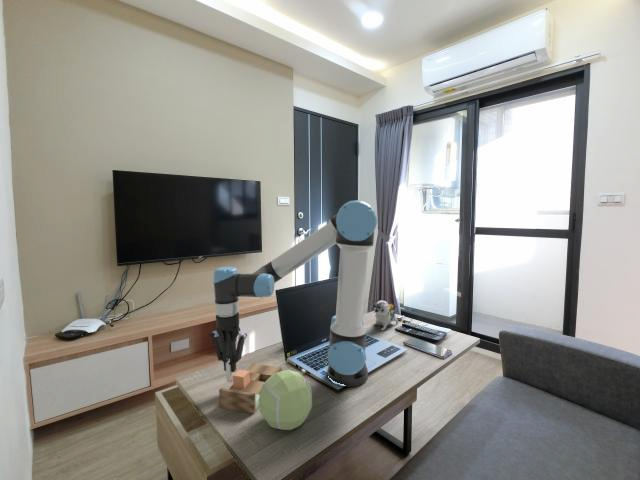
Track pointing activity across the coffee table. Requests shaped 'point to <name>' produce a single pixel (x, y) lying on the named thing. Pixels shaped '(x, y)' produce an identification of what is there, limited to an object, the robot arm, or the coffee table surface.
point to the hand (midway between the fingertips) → (230, 379)
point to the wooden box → (247, 390)
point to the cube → (241, 378)
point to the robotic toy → (384, 313)
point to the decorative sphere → (285, 400)
